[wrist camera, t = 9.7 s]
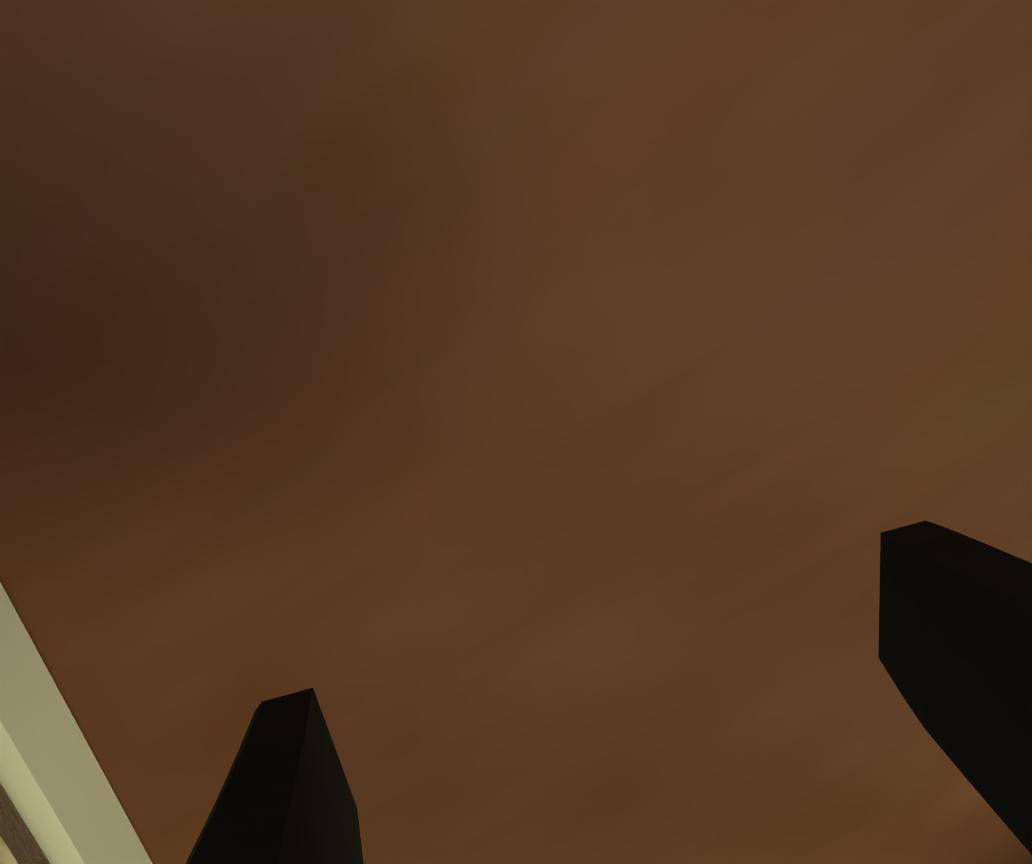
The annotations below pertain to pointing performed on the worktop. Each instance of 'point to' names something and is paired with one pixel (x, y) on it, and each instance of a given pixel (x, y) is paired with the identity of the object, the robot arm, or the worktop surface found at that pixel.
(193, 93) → the worktop surface
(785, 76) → the worktop surface
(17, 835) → the scale pan
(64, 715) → the scale
